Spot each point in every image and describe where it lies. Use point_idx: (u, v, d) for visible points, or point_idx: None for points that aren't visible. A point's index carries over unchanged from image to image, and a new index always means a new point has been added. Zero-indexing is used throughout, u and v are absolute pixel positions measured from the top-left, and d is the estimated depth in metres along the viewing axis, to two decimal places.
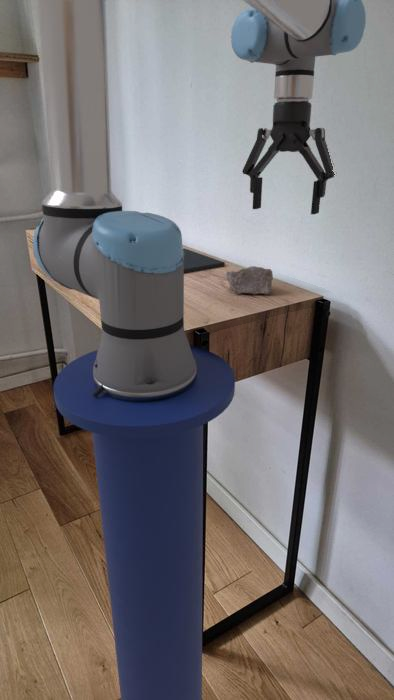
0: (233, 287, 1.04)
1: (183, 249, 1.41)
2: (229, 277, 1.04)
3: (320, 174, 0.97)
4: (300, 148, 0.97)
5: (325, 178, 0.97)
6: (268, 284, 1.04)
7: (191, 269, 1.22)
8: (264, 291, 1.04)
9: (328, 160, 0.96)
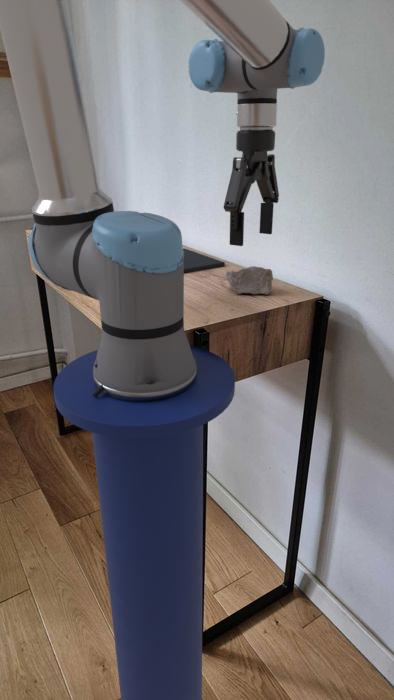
0: (233, 287, 1.04)
1: (183, 249, 1.41)
2: (229, 277, 1.04)
3: (274, 196, 1.04)
4: (268, 175, 0.99)
5: None
6: (268, 284, 1.04)
7: (191, 269, 1.22)
8: (264, 291, 1.04)
9: None
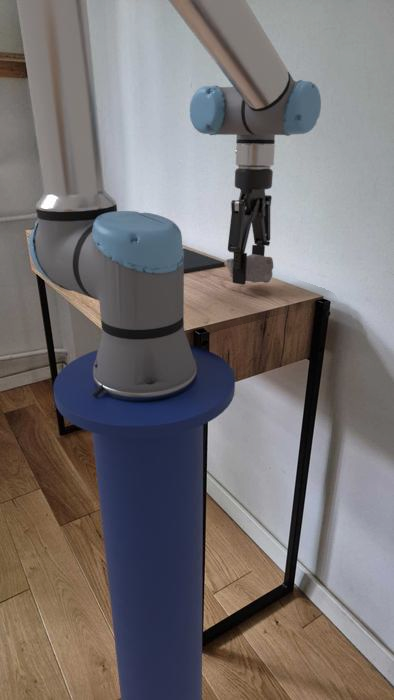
0: None
1: (183, 249, 1.41)
2: (229, 265, 1.03)
3: (265, 239, 1.06)
4: (264, 213, 1.01)
5: None
6: (268, 272, 1.02)
7: (191, 269, 1.22)
8: (264, 279, 1.03)
9: None
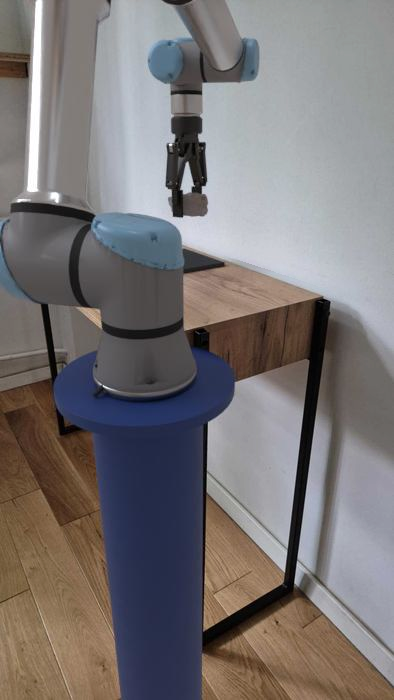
0: None
1: (183, 249, 1.41)
2: (170, 201, 1.21)
3: (202, 180, 1.24)
4: (198, 156, 1.19)
5: None
6: (203, 207, 1.20)
7: (191, 269, 1.22)
8: (200, 213, 1.21)
9: None
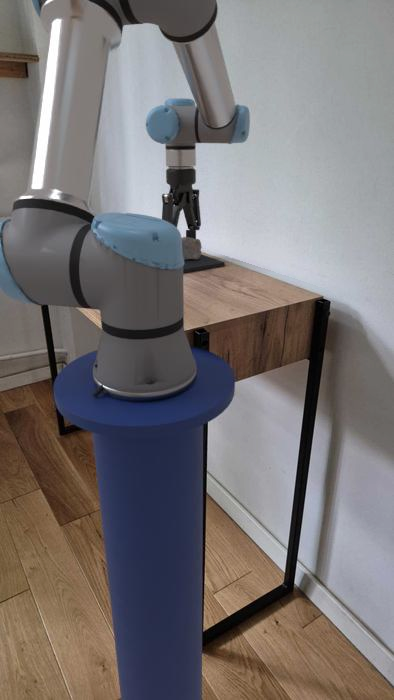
0: None
1: None
2: None
3: (196, 225, 1.31)
4: (192, 204, 1.26)
5: None
6: (197, 251, 1.28)
7: (191, 269, 1.22)
8: (194, 257, 1.28)
9: None
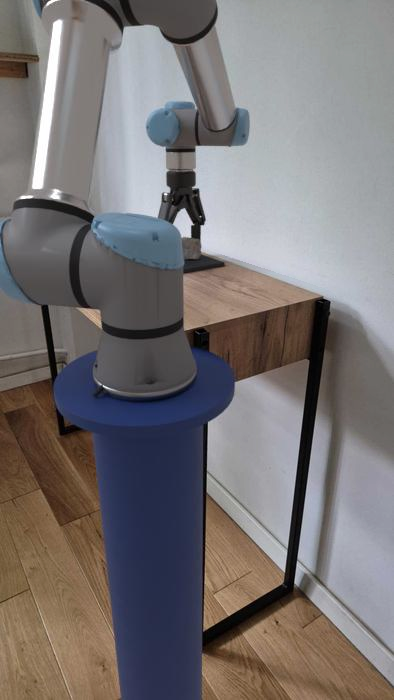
0: None
1: None
2: None
3: (201, 220, 1.33)
4: (193, 204, 1.27)
5: None
6: (197, 251, 1.28)
7: (191, 269, 1.22)
8: (194, 257, 1.28)
9: None
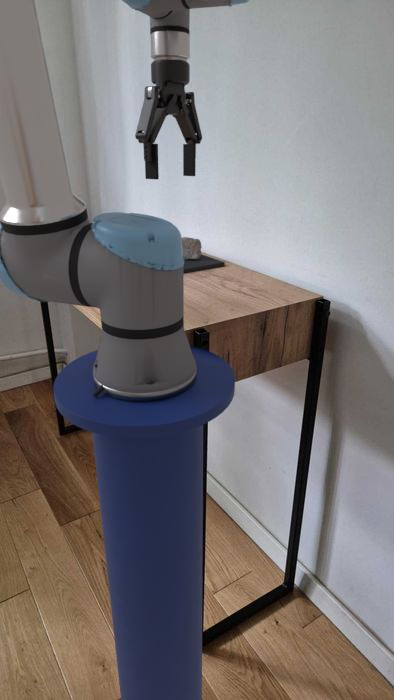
0: None
1: None
2: None
3: (196, 137, 1.04)
4: (186, 111, 0.98)
5: None
6: (197, 251, 1.28)
7: (191, 269, 1.22)
8: (194, 257, 1.28)
9: None
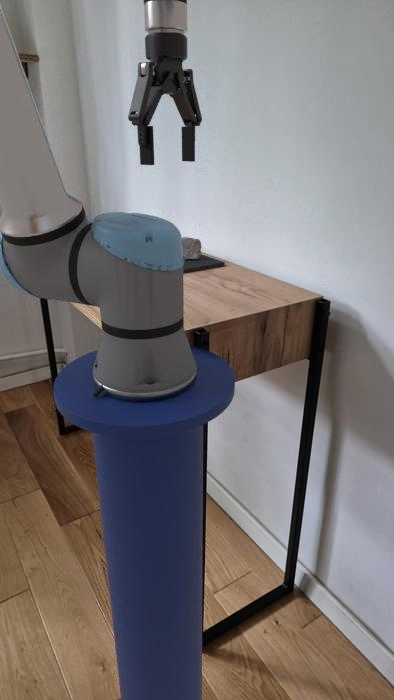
0: None
1: None
2: None
3: (195, 118, 0.96)
4: (184, 90, 0.90)
5: None
6: (197, 251, 1.28)
7: (191, 269, 1.22)
8: (194, 257, 1.28)
9: None
